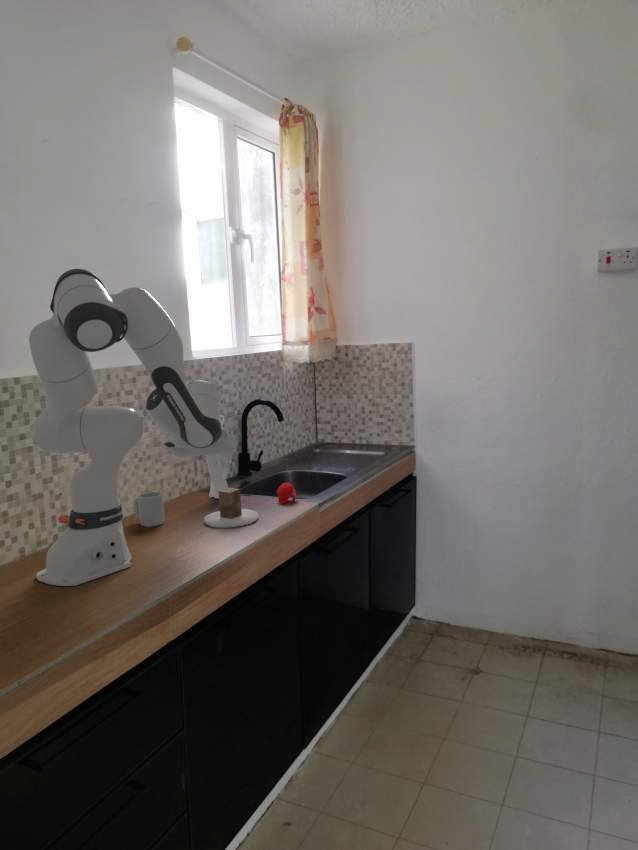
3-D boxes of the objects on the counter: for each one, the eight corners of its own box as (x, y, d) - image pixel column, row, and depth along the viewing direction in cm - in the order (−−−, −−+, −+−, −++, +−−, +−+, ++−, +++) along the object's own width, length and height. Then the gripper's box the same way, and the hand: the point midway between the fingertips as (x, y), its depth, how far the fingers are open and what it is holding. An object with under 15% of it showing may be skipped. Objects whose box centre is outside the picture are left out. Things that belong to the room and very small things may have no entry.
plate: (236, 530, 177) (236, 526, 177) (193, 524, 185) (193, 520, 185) (268, 515, 191) (268, 511, 191) (227, 510, 199) (226, 506, 199)
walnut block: (231, 519, 185) (229, 492, 184) (220, 517, 188) (218, 491, 186) (241, 515, 189) (240, 489, 188) (230, 513, 191) (229, 487, 190)
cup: (155, 528, 184) (152, 498, 183) (127, 525, 188) (125, 496, 186) (169, 521, 190) (167, 492, 189) (142, 518, 194) (140, 490, 193)
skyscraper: (222, 492, 223) (216, 414, 220) (236, 495, 219) (230, 415, 215) (204, 497, 218) (198, 417, 214) (218, 500, 213) (212, 418, 209)
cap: (280, 488, 212) (271, 482, 207) (296, 483, 210) (287, 477, 205) (283, 510, 208) (274, 505, 203) (299, 505, 206) (291, 499, 201)
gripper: (224, 418, 167) (250, 446, 176) (163, 425, 176) (191, 451, 185) (218, 438, 163) (244, 465, 173) (156, 444, 172) (185, 470, 182)
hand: (216, 458), depth 179 cm, fingers open, 8 cm apart
